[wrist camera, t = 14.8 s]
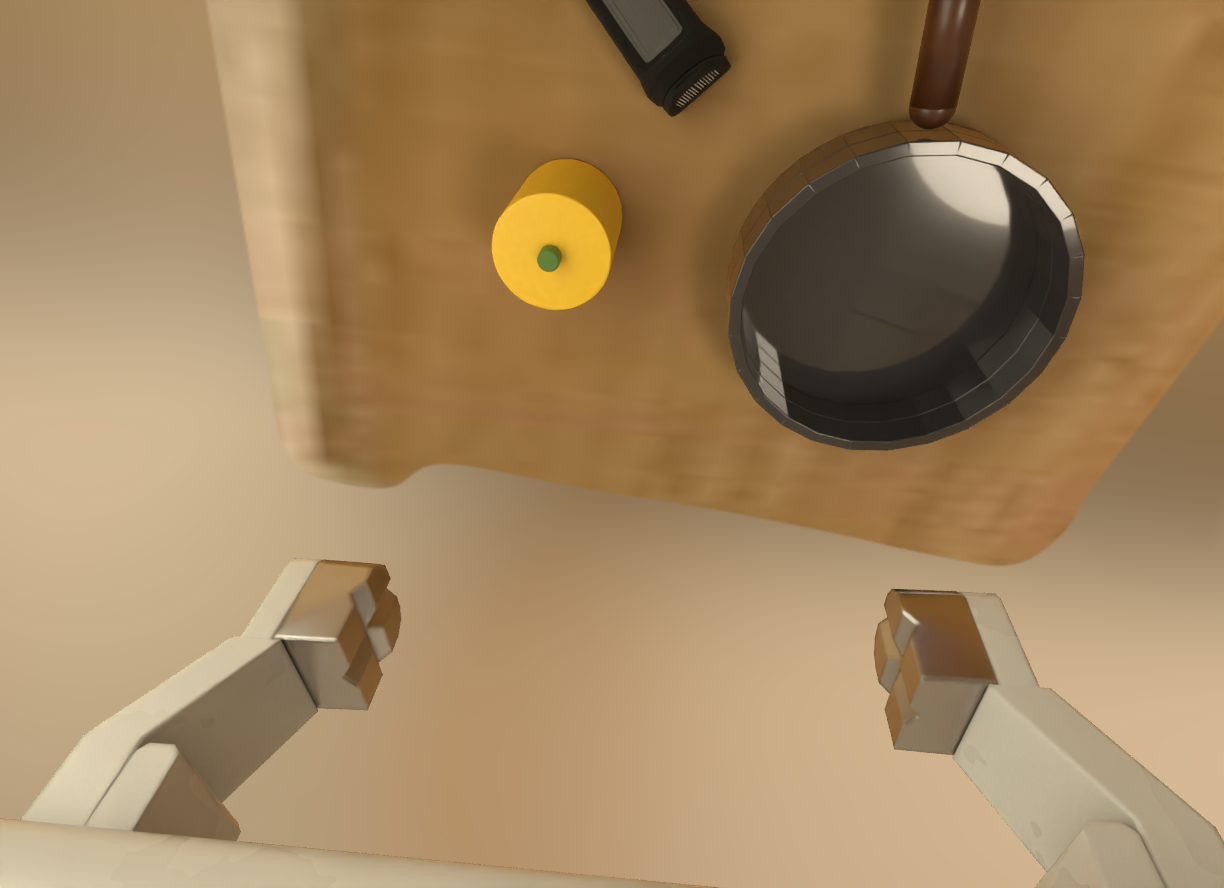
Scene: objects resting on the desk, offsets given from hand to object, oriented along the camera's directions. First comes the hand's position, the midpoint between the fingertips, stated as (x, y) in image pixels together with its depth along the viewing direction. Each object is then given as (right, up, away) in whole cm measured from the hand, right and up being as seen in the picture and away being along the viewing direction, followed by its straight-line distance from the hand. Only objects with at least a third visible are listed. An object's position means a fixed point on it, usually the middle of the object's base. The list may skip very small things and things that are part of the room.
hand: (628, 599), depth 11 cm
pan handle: (+13, +20, +16) cm, 28 cm away
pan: (+14, +11, +24) cm, 30 cm away
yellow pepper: (-2, +14, +24) cm, 28 cm away
